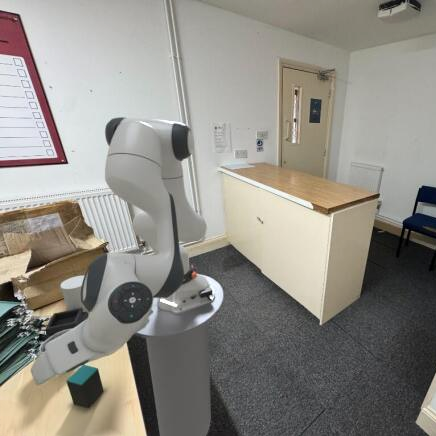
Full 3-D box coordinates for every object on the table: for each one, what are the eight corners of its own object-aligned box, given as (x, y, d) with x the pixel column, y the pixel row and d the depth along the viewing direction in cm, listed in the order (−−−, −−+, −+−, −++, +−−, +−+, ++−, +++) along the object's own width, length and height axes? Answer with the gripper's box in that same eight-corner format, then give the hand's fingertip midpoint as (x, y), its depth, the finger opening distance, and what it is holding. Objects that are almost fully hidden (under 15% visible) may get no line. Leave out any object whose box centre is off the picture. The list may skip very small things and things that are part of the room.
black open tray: (88, 314, 88) (86, 306, 87) (82, 332, 81) (79, 323, 80) (52, 321, 84) (50, 313, 82) (42, 341, 76) (39, 332, 75)
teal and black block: (89, 387, 65) (83, 364, 62) (103, 391, 64) (98, 368, 61) (73, 404, 61) (65, 380, 58) (88, 408, 60) (81, 384, 57)
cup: (100, 302, 94) (95, 277, 90) (80, 317, 87) (73, 290, 83) (83, 299, 95) (77, 274, 91) (61, 312, 88) (54, 286, 84)
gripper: (149, 297, 59) (131, 318, 65) (32, 349, 41) (23, 371, 47) (161, 319, 57) (141, 338, 64) (46, 381, 40) (35, 400, 46)
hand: (90, 352), depth 55 cm, fingers open, 8 cm apart
